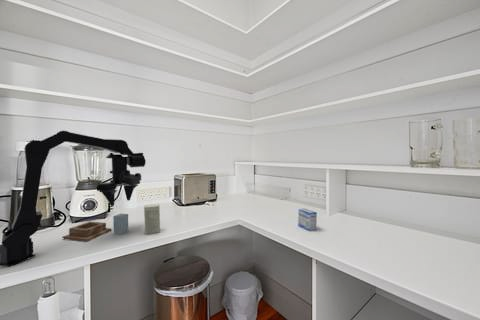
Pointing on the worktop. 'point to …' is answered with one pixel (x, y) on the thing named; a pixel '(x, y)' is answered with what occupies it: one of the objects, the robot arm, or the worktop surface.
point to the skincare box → (152, 218)
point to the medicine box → (307, 219)
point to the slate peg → (120, 224)
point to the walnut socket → (87, 231)
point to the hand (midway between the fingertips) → (121, 203)
